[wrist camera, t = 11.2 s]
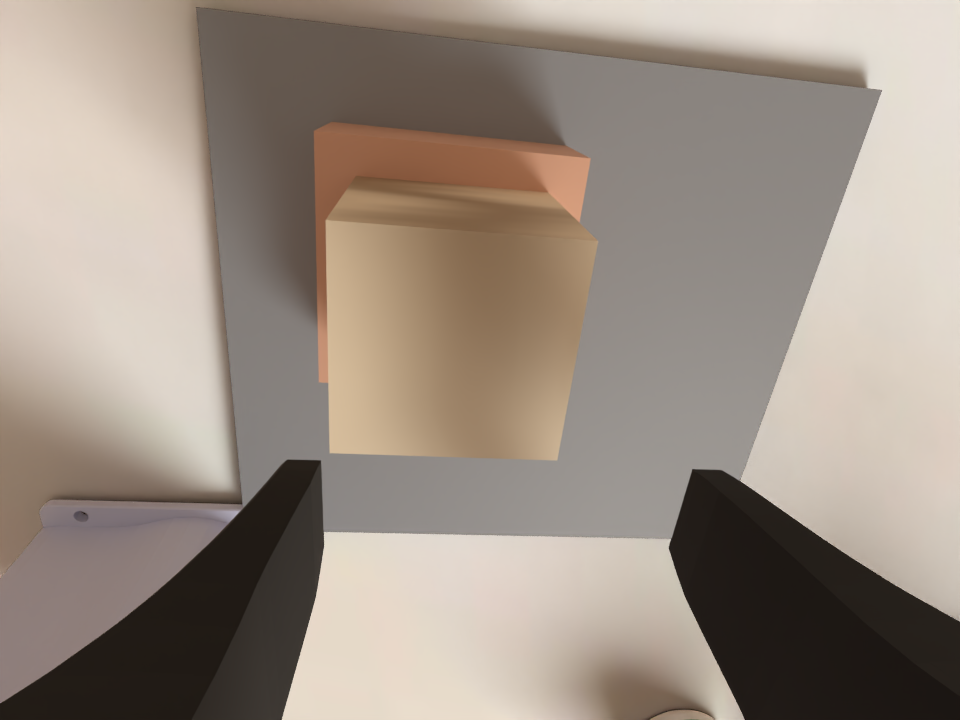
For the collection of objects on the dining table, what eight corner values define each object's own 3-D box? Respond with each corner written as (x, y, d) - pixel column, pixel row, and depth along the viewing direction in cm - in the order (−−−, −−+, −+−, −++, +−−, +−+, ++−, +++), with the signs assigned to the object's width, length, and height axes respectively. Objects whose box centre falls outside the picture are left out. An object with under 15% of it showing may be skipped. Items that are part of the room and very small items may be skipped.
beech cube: (355, 353, 17) (329, 453, 13) (356, 175, 15) (325, 219, 10) (523, 361, 18) (557, 460, 13) (548, 192, 15) (597, 241, 11)
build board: (249, 519, 24) (221, 589, 21) (203, 8, 16) (147, -7, 13) (712, 530, 26) (752, 594, 23) (868, 89, 18) (963, 93, 15)
